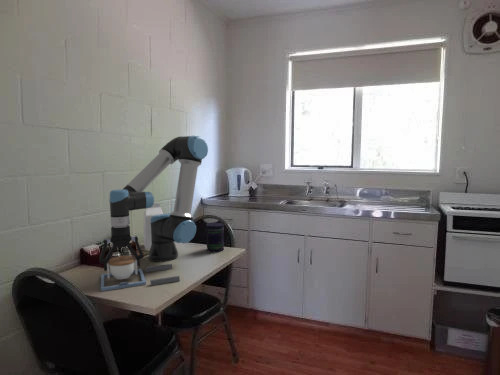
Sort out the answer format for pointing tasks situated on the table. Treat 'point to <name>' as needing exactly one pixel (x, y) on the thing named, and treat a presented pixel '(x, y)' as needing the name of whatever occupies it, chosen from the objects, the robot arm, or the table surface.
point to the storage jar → (215, 237)
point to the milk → (147, 220)
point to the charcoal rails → (162, 280)
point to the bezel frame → (122, 284)
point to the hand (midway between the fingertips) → (122, 275)
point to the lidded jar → (122, 266)
